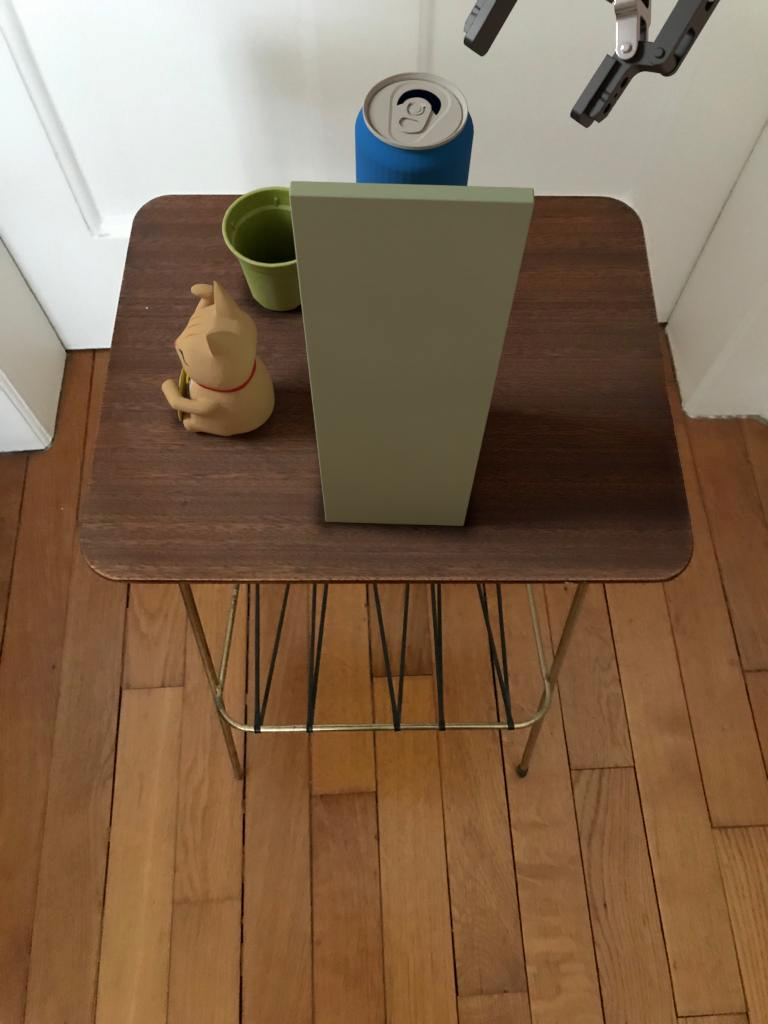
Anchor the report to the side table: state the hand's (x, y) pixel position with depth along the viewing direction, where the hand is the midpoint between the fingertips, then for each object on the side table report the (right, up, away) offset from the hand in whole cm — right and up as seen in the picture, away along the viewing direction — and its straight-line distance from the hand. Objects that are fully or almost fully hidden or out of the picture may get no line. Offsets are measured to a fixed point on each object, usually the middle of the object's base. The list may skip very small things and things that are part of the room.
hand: (524, 86), depth 54 cm
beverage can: (-7, -10, +4) cm, 13 cm away
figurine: (-23, -16, +29) cm, 40 cm away
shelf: (-7, -22, +26) cm, 35 cm away
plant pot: (-19, -4, +35) cm, 40 cm away
